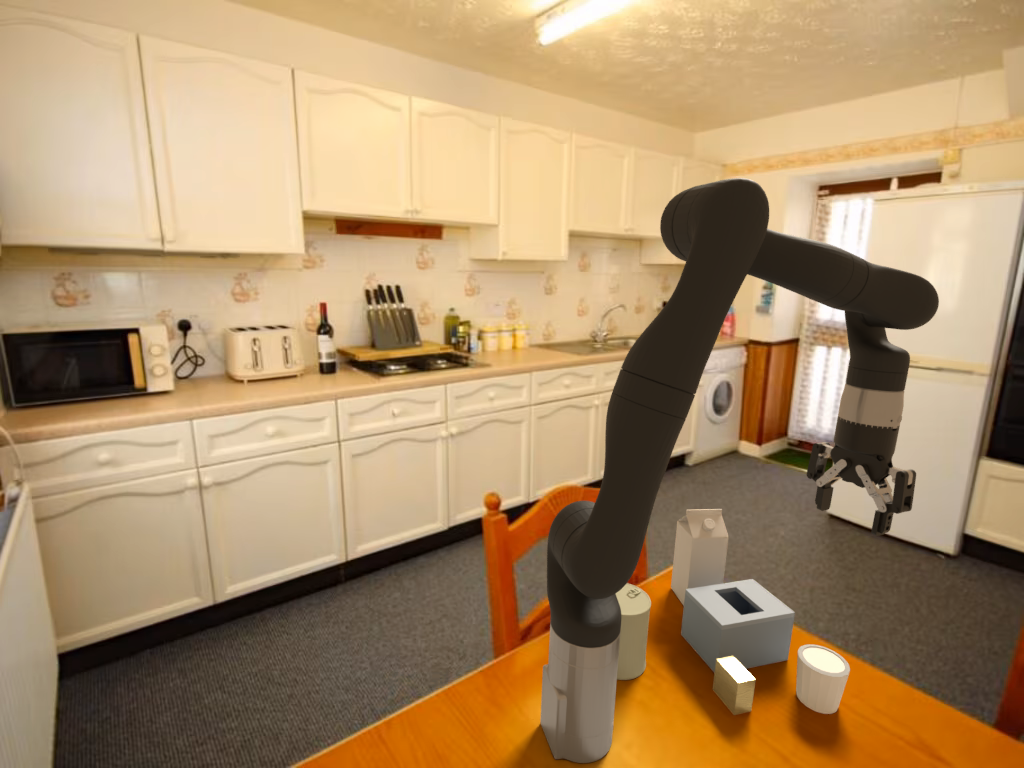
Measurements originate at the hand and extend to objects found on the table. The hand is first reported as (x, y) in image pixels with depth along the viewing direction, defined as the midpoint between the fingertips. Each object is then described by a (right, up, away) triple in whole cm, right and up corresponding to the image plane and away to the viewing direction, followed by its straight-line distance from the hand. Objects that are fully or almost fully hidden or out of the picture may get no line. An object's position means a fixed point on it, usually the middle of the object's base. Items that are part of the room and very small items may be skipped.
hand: (849, 521), depth 79 cm
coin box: (-13, -25, +12) cm, 30 cm away
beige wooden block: (-18, -27, +1) cm, 32 cm away
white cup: (-4, -28, +1) cm, 28 cm away
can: (-33, -25, +8) cm, 43 cm away
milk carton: (-14, -22, +26) cm, 37 cm away
